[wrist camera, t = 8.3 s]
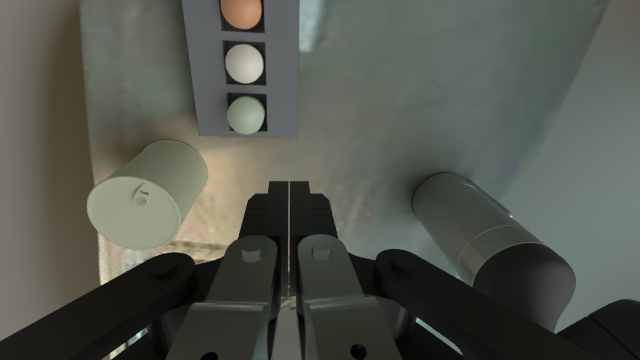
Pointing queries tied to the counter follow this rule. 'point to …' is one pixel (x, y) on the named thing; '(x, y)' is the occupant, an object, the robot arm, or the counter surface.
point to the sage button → (246, 114)
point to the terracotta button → (242, 13)
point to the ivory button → (244, 63)
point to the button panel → (222, 90)
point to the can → (148, 196)
